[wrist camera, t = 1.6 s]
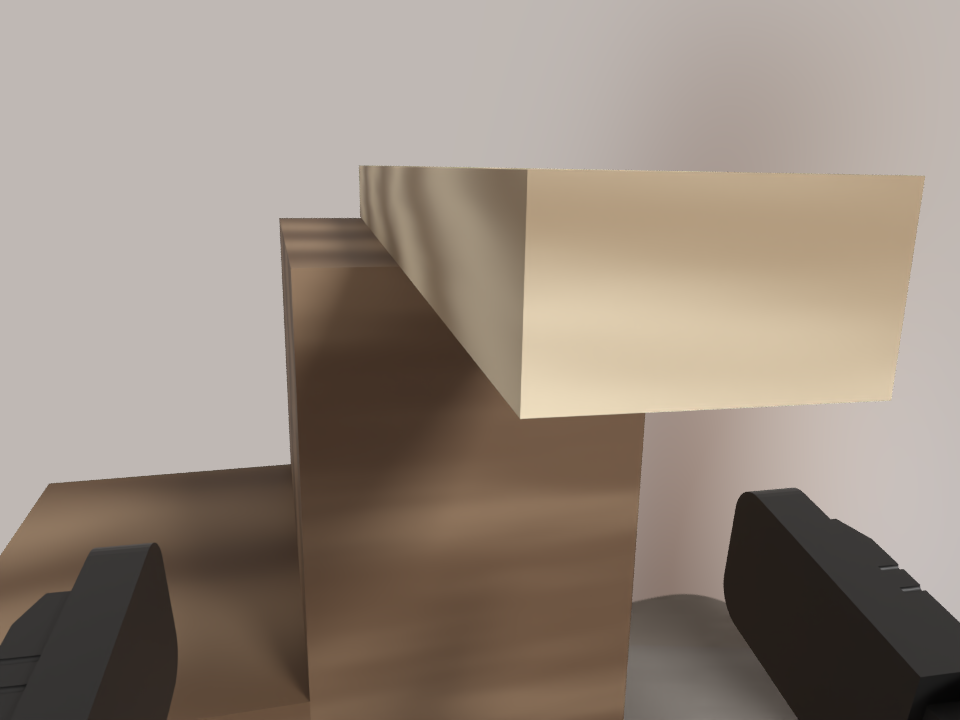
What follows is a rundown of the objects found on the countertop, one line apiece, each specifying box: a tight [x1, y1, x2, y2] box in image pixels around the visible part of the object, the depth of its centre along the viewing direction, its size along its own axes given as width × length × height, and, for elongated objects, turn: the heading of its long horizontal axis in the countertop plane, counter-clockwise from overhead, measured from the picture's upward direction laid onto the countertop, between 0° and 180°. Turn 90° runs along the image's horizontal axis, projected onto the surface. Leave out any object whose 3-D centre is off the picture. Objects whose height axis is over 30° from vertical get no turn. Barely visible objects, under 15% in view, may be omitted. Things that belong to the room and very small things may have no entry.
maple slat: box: [359, 166, 925, 419], centre depth 19 cm, size 26×4×2 cm, turn 11°
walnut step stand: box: [0, 218, 645, 720], centre depth 26 cm, size 15×17×32 cm
